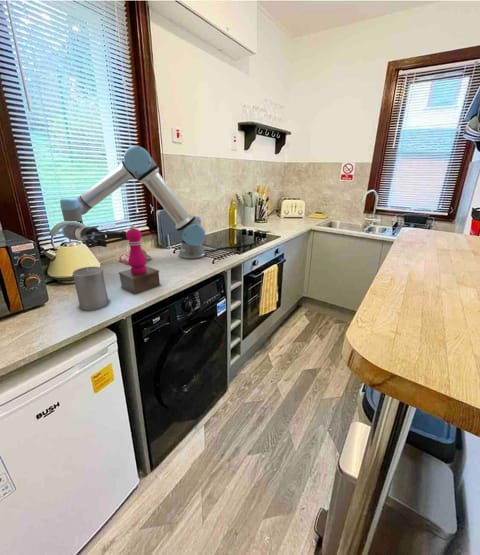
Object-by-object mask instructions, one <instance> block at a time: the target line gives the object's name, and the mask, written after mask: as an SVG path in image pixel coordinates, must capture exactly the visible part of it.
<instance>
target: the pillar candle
mask: <svg viewBox="0 0 480 555" xmlns="http://www.w3.org/2000/svg"><path fill="white" fill-rule="evenodd" d="M72 276H73V281H74V286H75V290H76V295H77V299H78V305H79V308H80V309H81V310H82V311H83V310H84V311H95V310H98V309H100V308H104V307H106V306H107V305H108V304H109V298H108V297H109V296H108V291H107V287H106V282H105V277H104V276H105V275H104V271H103V268H102V267H101V266H85V267H81V268H77V269H75V270H74V271H73V272H72Z"/></svg>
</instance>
